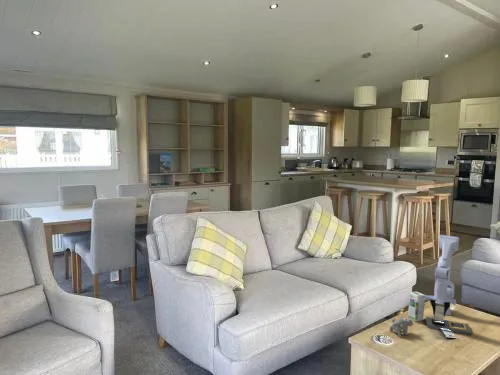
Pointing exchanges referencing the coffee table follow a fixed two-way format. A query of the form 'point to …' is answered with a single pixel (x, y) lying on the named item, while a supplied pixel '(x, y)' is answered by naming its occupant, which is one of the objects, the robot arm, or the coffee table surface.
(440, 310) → the peg
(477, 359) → the coffee table surface
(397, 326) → the gray elephant figurine
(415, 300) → the syrup box
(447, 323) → the rail
